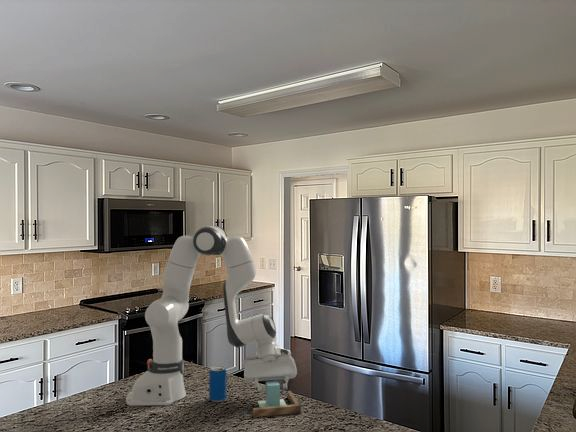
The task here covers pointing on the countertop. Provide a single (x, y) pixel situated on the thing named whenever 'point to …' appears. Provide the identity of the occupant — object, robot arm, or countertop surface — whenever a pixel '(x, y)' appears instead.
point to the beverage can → (217, 384)
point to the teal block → (272, 393)
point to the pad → (263, 404)
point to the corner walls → (279, 408)
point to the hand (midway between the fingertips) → (273, 390)
